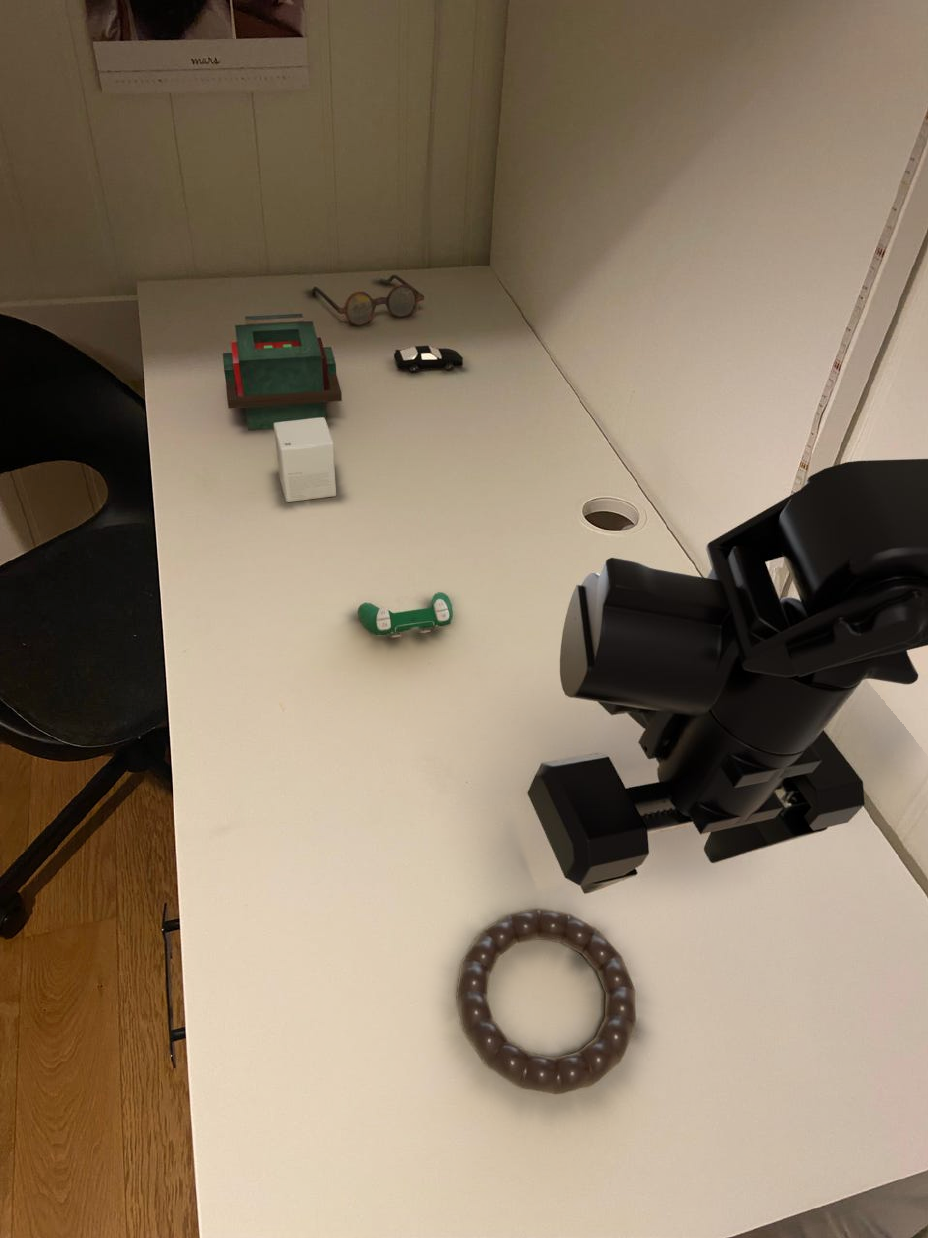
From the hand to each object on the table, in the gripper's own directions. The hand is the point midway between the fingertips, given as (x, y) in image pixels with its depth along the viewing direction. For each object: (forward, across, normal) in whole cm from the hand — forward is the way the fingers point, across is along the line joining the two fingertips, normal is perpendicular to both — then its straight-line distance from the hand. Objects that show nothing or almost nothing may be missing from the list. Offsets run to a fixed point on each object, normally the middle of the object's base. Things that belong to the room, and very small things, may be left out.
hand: (648, 870), depth 52 cm
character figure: (+18, +6, -85) cm, 87 cm away
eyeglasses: (+17, -13, -112) cm, 114 cm away
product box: (+17, +7, -63) cm, 65 cm away
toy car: (+15, -16, -89) cm, 91 cm away
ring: (+12, +4, +2) cm, 13 cm away
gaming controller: (+15, +2, -36) cm, 39 cm away
